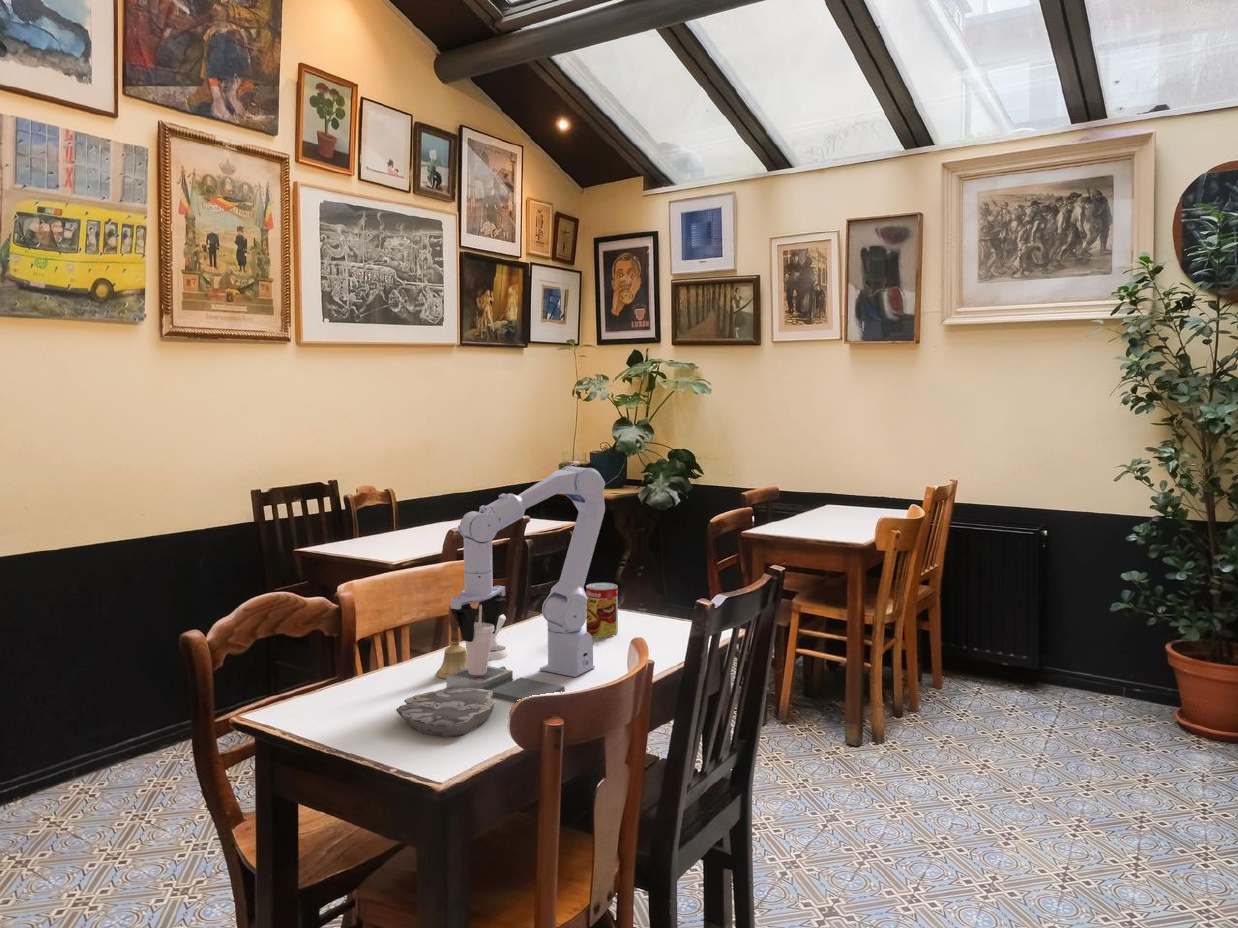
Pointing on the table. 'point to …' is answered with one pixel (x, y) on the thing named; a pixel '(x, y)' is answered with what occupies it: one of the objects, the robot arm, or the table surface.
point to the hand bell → (453, 652)
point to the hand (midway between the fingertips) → (479, 636)
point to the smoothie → (479, 647)
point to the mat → (525, 689)
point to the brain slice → (448, 710)
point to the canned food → (602, 609)
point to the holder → (493, 677)
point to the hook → (502, 649)
